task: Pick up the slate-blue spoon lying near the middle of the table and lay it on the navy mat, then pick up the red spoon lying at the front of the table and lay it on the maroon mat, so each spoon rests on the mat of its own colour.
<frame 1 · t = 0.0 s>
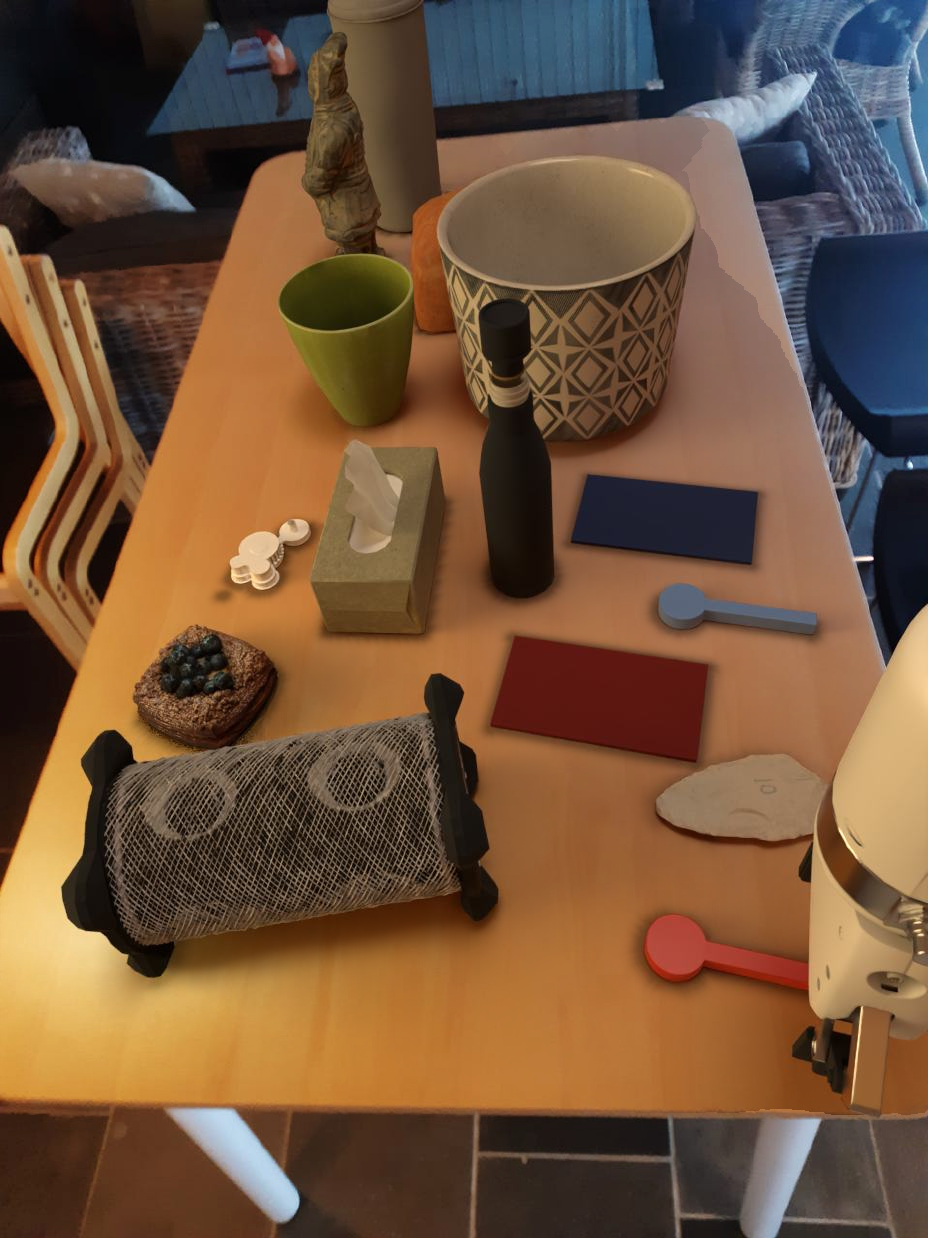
hand: (824, 964, 48), 17 cm above the table, tool pointing down, fingers open, 9 cm apart
red spoon: (744, 966, 64), on the table
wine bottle: (522, 575, 89), on the table
statue: (357, 273, 127), on the table
flower pot: (372, 409, 108), on the table
tissue box: (390, 564, 92), on the table
bread: (535, 295, 120), on the table
stone: (740, 805, 72), on the table
white lobed flat piece: (269, 563, 94), on the table
maroon mat: (600, 696, 79), on the table
blue spoon: (735, 618, 83), on the table
canister: (408, 217, 136), on the table
pastry: (211, 697, 84), on the table
planter: (566, 393, 106), on the table
navy mat: (665, 518, 92), on the table
speaker: (319, 866, 72), on the table
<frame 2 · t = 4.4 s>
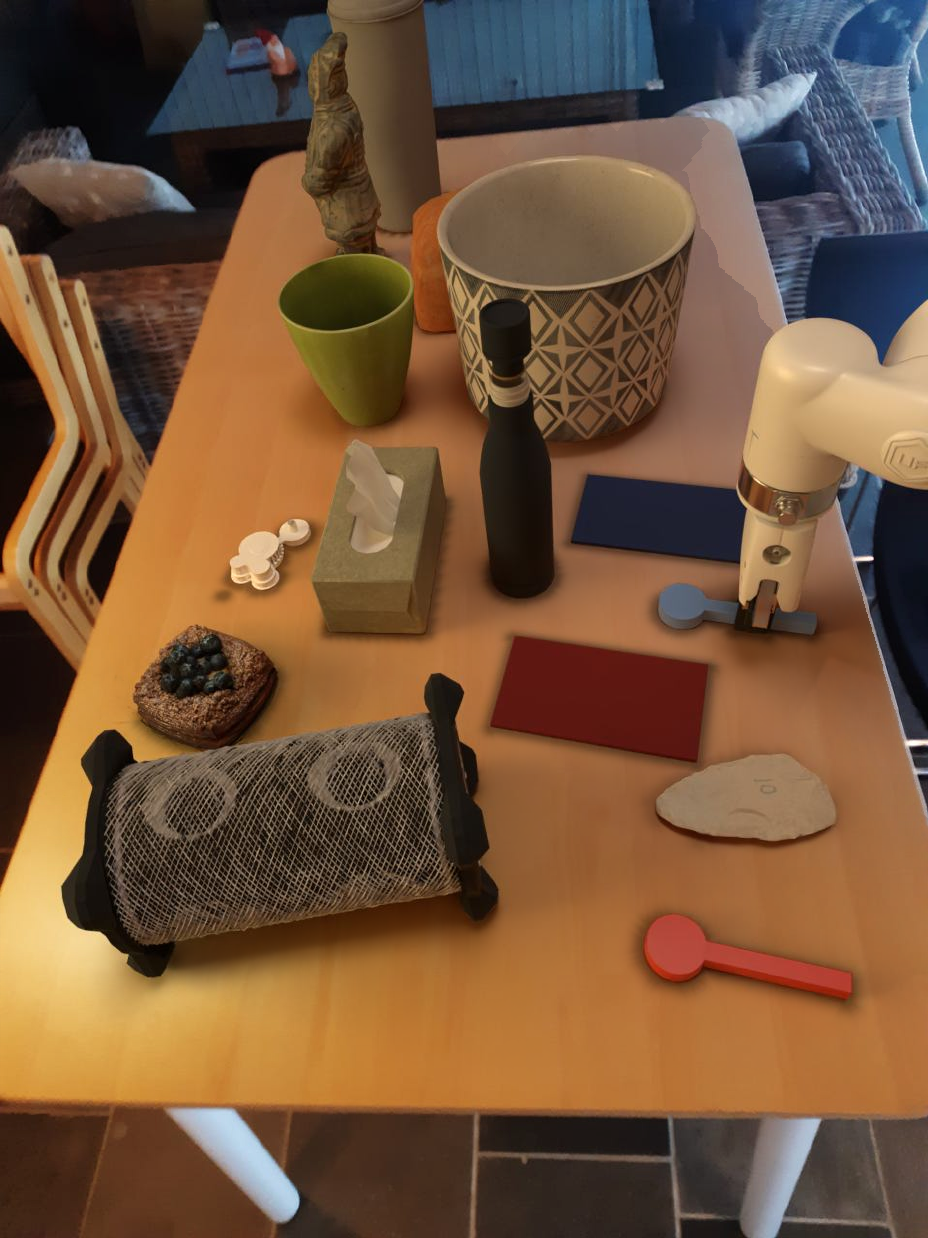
hand: (751, 620, 83), 0 cm above the table, tool pointing down, fingers closed on blue spoon, 1 cm apart
blue spoon: (735, 618, 83), on the table, touching gripper
everything else where it was.
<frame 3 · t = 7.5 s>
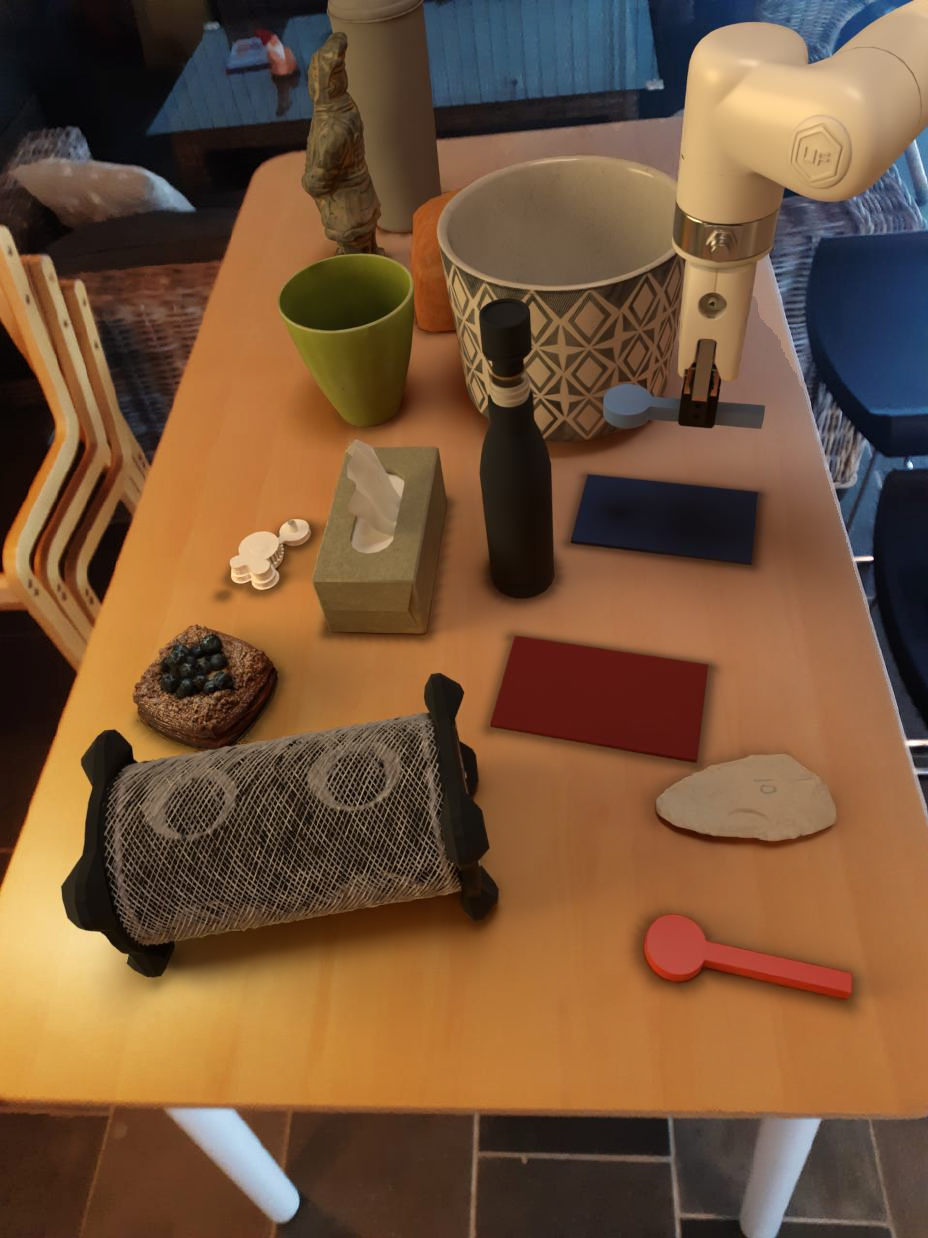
hand: (697, 416, 80), 14 cm above the table, tool pointing down, fingers closed on blue spoon, 1 cm apart
blue spoon: (682, 417, 80), point 14 cm above the table, touching gripper
everything else where it was.
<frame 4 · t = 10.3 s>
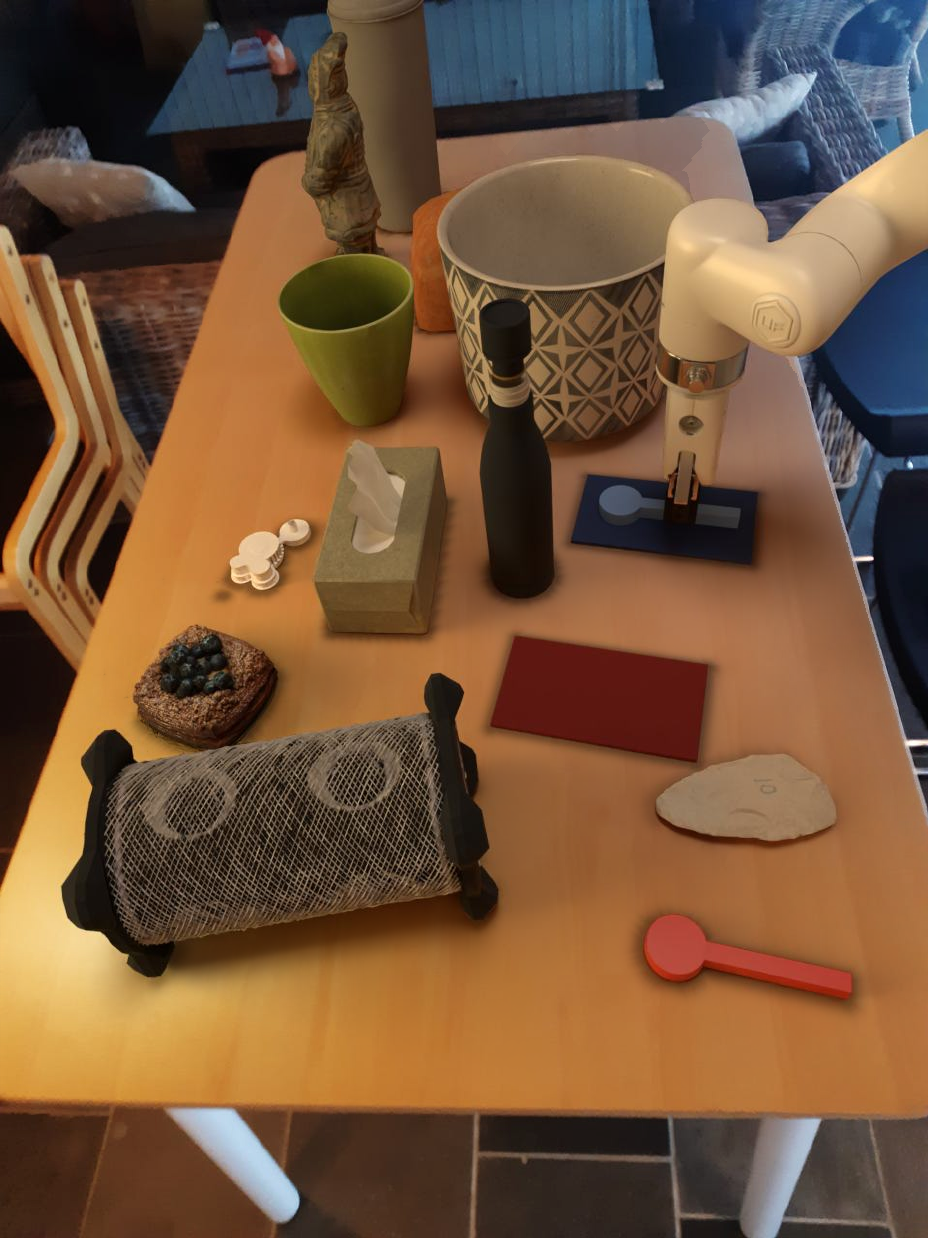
hand: (681, 504, 90), 2 cm above the table, tool pointing down, fingers open, 3 cm apart
blue spoon: (668, 516, 91), resting on navy mat
everything else where it was.
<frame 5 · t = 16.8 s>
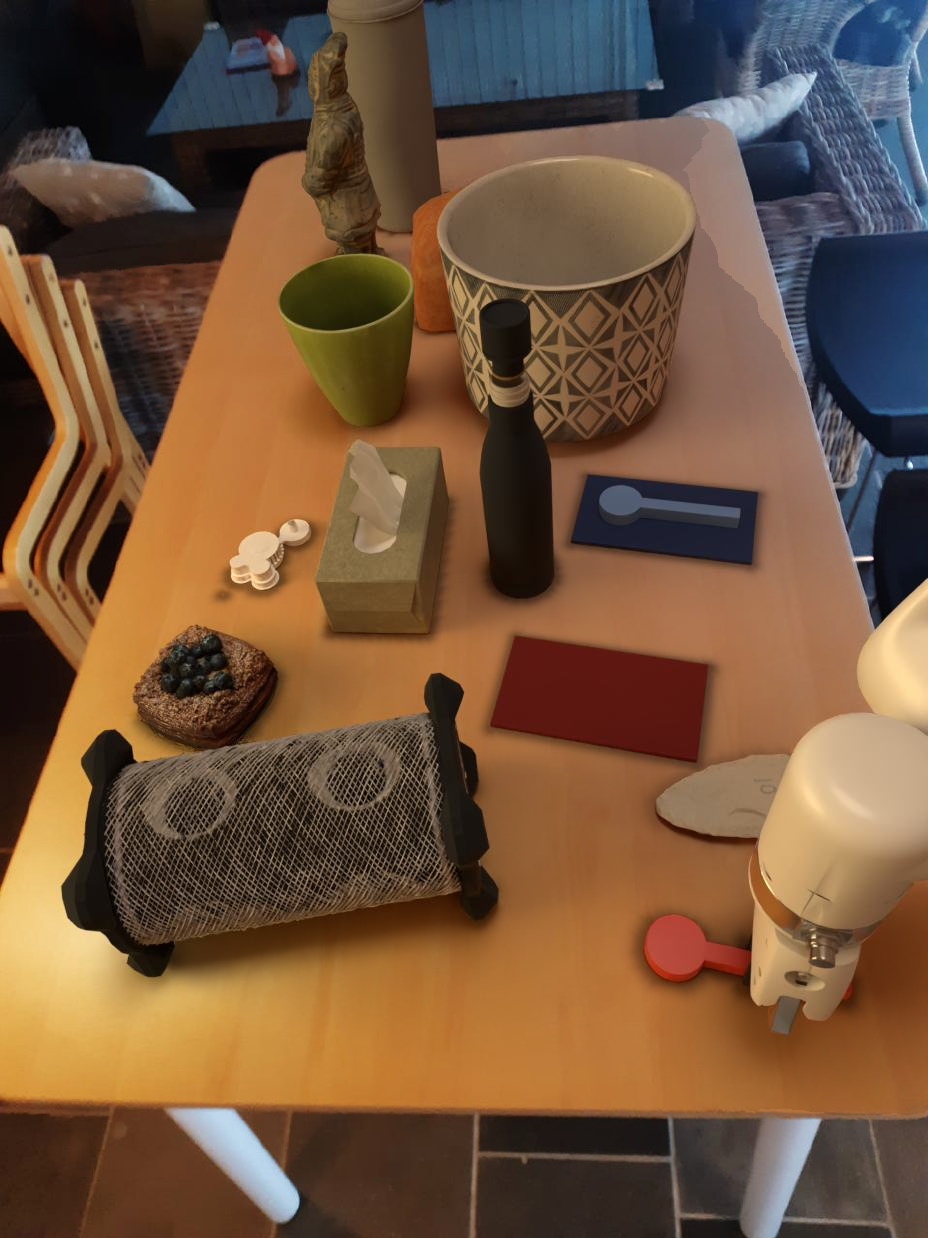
hand: (766, 970, 64), 0 cm above the table, tool pointing down, fingers closed on red spoon, 1 cm apart
red spoon: (744, 966, 64), on the table, touching gripper
everything else where it was.
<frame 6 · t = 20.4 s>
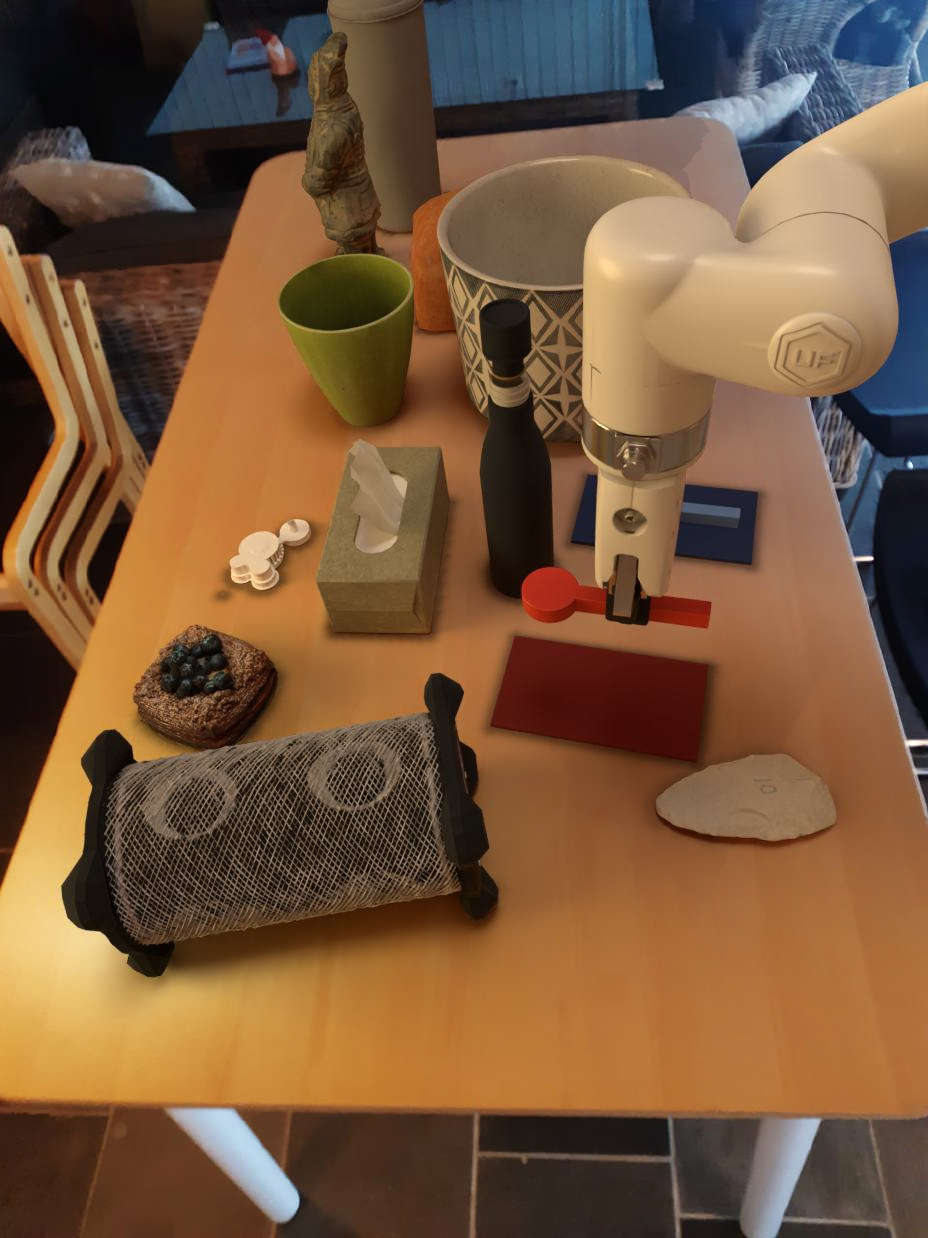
hand: (628, 608, 67), 14 cm above the table, tool pointing down, fingers closed on red spoon, 1 cm apart
red spoon: (614, 609, 68), point 14 cm above the table, touching gripper
everything else where it was.
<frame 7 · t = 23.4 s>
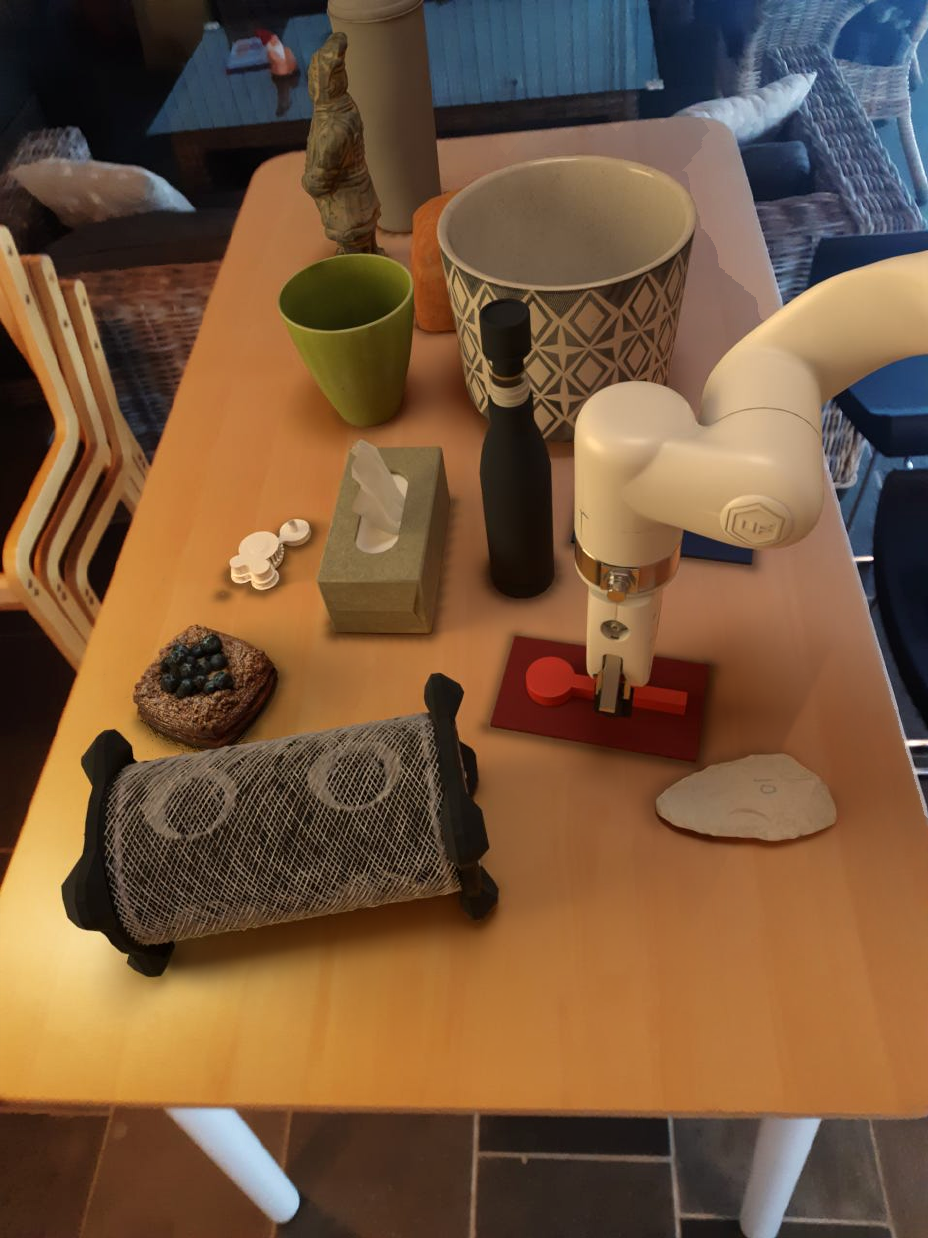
hand: (617, 684, 77), 2 cm above the table, tool pointing down, fingers open, 4 cm apart
red spoon: (605, 695, 79), resting on maroon mat
everything else where it was.
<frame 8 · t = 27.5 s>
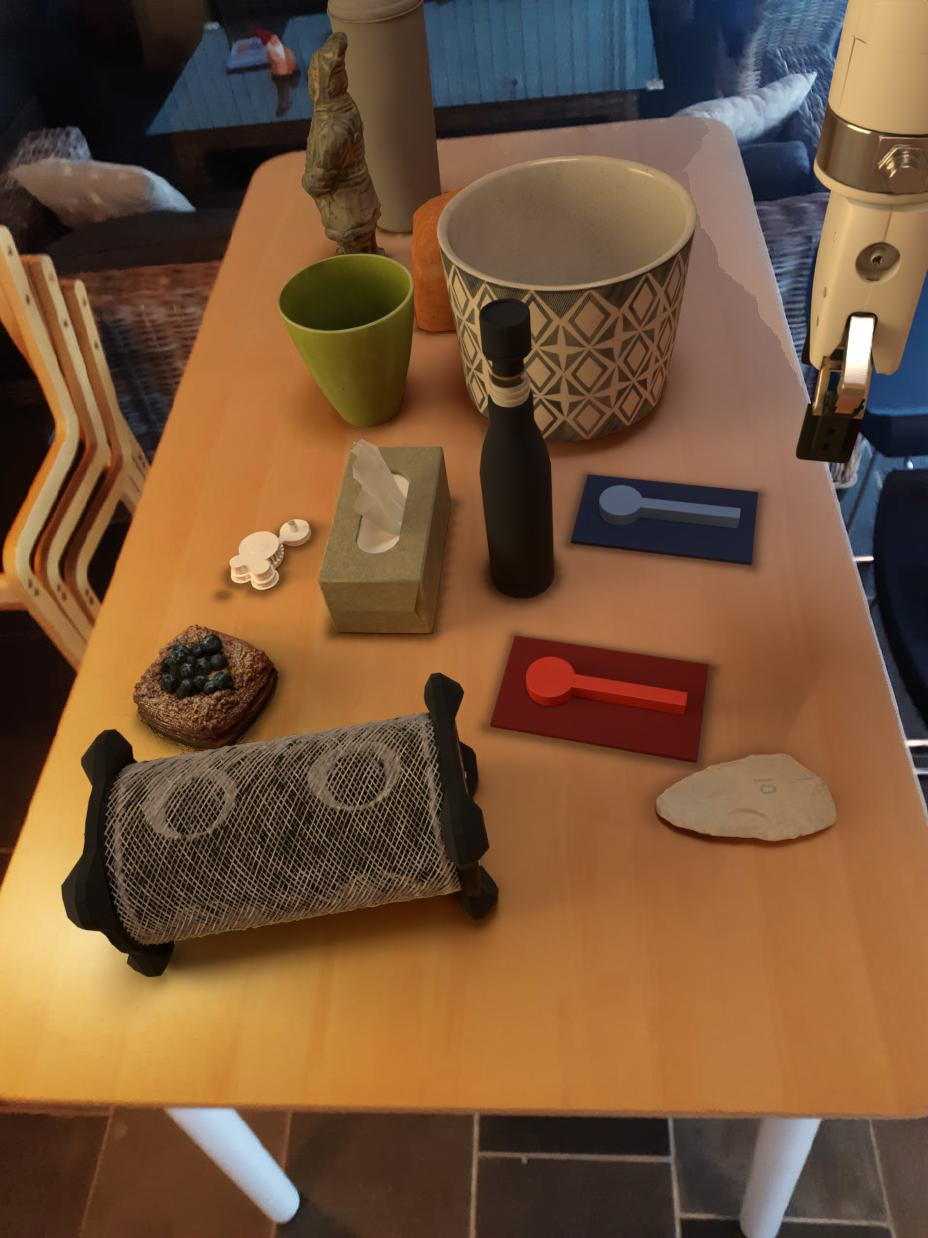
hand: (823, 408, 58), 28 cm above the table, tool pointing down, fingers open, 9 cm apart
nothing on the table moved.
at the end: blue spoon inside the target area on the navy mat (0.3 cm from its centre), point 0.4 cm above the navy mat's base; red spoon inside the target area on the maroon mat (0.5 cm from its centre), point 0.4 cm above the maroon mat's base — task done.
